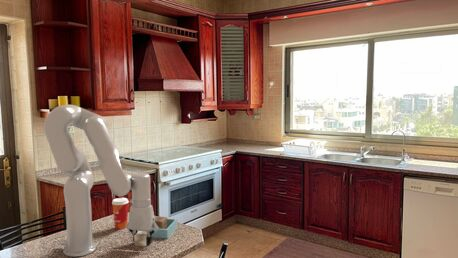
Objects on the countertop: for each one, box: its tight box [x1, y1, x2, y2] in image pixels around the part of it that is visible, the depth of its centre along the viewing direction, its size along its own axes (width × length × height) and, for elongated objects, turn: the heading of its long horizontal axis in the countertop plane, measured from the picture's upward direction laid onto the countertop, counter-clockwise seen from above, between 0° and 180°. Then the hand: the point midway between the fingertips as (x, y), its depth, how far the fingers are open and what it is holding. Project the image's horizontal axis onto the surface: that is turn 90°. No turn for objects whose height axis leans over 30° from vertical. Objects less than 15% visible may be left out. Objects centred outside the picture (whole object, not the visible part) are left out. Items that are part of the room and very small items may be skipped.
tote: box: [152, 217, 178, 239], centre depth 159 cm, size 14×14×4 cm
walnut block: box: [152, 215, 168, 229], centre depth 159 cm, size 6×6×6 cm
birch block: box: [133, 230, 147, 247], centre depth 146 cm, size 5×5×5 cm
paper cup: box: [111, 197, 130, 230], centre depth 164 cm, size 8×8×14 cm
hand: (142, 243), depth 146 cm, fingers closed on birch block, 4 cm apart
